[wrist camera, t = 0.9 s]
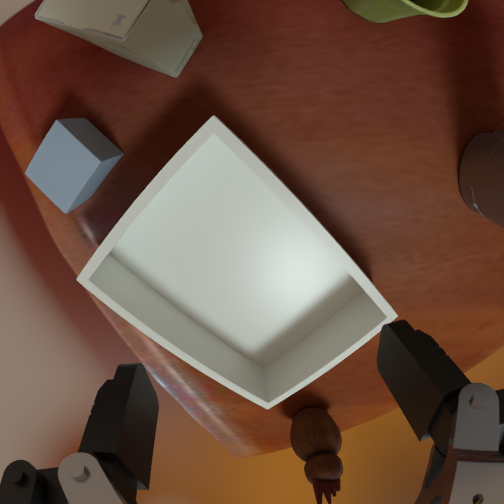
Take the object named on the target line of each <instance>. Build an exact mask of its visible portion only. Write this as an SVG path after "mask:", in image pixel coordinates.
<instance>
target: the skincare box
mask: <svg viewBox="0 0 504 504" xmlns="http://www.w3.org/2000/svg"><path fill="white" fill-rule="evenodd" d="M35 18H36V19H37V20H40V21H42V22H45V23H47V24H50V25H52V26H55V27H57V28H60V29H62V30H64V31H67V32H69V33H71V34H74V35H76V36H78V37H80V38H83V39H85V40H87V41H89V42H91V43H93V44H96V45H98V46H100V47H102V48H104V49H106V50H108V51H110V52H112V53H114V54H116V55H118V56H120V57H123V58H125V59H128V60H130V61H133V62H135V63H138V64H140V65H143V66H146V67H148V68H151V69H153V70H156V71H159V72H161V73H164V74H166V75H169V76H172V77H174V78H177V77H178V76H179V74H180V73H181V71H182V69H183V68H184V66H185V65H186V63H187V61H188V60H189V58H190V57H191V55H192V54H193V52H194V50H195V49H196V47H197V45H198V44H199V42H200V40H201V39H202V37H203V36H202V33H201V31H200V28H199V26H198V23H197V21H196V19H195V16H194V14H193V12H192V9H191V7H190V5H189V2H188V0H43V2H42V4H41V5H40V7H39V9H38V10H37V12H36V14H35Z"/></svg>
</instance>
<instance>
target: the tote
mask: <svg viewBox="0 0 504 504" xmlns="http://www.w3.org/2000/svg"><path fill="white" fill-rule="evenodd" d="M76 280H77V281H78V282H79V283H81V284H82V285H83V286H84V287H85V288H86V289H88V290H89V291H90V292H91V293H92V294H94V295H95V296H96V297H97V298H99V299H100V300H101V301H102V302H104V303H105V304H106V305H107V306H109V307H110V308H111V309H112V310H114V311H115V312H116V313H118V314H119V315H120V316H121V317H123V318H124V319H125V320H127V321H128V322H129V323H131V324H132V325H133V326H135V327H136V328H137V329H139V330H140V331H142V332H143V333H144V334H146V335H147V336H149V337H150V338H151V339H153V340H154V341H156V342H157V343H159V344H160V345H161V346H163V347H164V348H166V349H167V350H169V351H170V352H172V353H173V354H175V355H176V356H178V357H179V358H181V359H182V360H184V361H185V362H187V363H188V364H190V365H192V366H193V367H195V368H196V369H198V370H199V371H201V372H203V373H204V374H206V375H208V376H209V377H211V378H212V379H214V380H216V381H217V382H219V383H221V384H222V385H224V386H226V387H228V388H229V389H231V390H233V391H235V392H236V393H238V394H240V395H242V396H243V397H245V398H247V399H249V400H251V401H253V402H254V403H256V404H258V405H260V406H262V407H264V408H266V409H269V408H271V407H273V406H274V405H276V404H278V403H279V402H281V401H283V400H284V399H286V398H287V397H289V396H291V395H292V394H294V393H295V392H297V391H298V390H300V389H301V388H303V387H304V386H306V385H308V384H309V383H311V382H312V381H313V380H315V379H316V378H318V377H319V376H321V375H322V374H324V373H325V372H327V371H328V370H329V369H331V368H332V367H334V366H335V365H336V364H338V363H339V362H341V361H342V360H343V359H345V358H346V357H347V356H349V355H350V354H351V353H353V352H354V351H355V350H357V349H358V348H359V347H361V346H362V345H363V344H365V343H366V342H367V341H368V340H370V339H371V338H372V337H373V336H375V335H376V334H377V333H378V332H380V331H381V329H382V326H383V325H384V324H388V323H391V322H392V321H393V320H394V319H395V318H396V317H398V315H397V314H396V313H395V311H394V310H393V309H392V307H391V306H390V305H389V303H388V302H387V301H386V299H385V298H384V297H383V295H382V294H381V293H380V292H379V290H378V289H377V288H376V286H375V285H374V284H373V283H372V281H371V280H370V279H369V278H368V277H367V275H366V274H365V273H364V272H363V271H362V269H361V268H360V267H359V266H358V265H357V263H356V262H355V261H354V260H353V259H352V258H351V256H350V255H349V254H348V253H347V252H346V251H345V249H344V248H343V247H342V246H341V245H340V244H339V243H338V241H337V240H336V239H335V238H334V237H333V236H332V235H331V233H330V232H329V231H328V230H327V229H326V228H325V227H324V226H323V225H322V223H321V222H320V221H319V220H318V219H317V218H316V217H315V216H314V215H313V214H312V212H311V211H310V210H309V209H308V208H307V207H306V206H305V205H304V204H303V203H302V202H301V200H300V199H299V198H298V197H297V196H296V195H295V194H294V193H293V192H292V191H291V190H290V189H289V188H288V187H287V186H286V185H285V184H284V182H283V181H282V180H281V179H280V178H279V177H278V176H277V175H276V174H275V173H274V172H273V171H272V170H271V169H270V168H269V167H268V166H267V165H266V164H265V163H264V162H263V161H262V160H261V159H260V158H259V157H258V156H257V155H256V154H255V153H254V152H253V151H252V150H251V149H250V148H249V147H248V146H247V145H246V144H245V143H244V142H243V141H242V140H241V139H240V138H239V137H238V136H237V135H236V134H235V133H234V132H233V131H232V130H231V129H230V128H228V127H227V126H226V125H225V124H224V123H223V122H222V121H221V120H220V119H219V118H218V117H216V116H214V115H213V116H212V117H211V118H210V119H209V120H208V121H207V122H206V123H205V124H204V125H203V126H202V127H201V128H200V129H199V130H198V131H197V132H196V133H195V134H194V135H193V136H192V137H191V138H190V139H189V140H188V141H187V142H186V144H185V145H184V146H183V147H182V148H181V149H180V150H179V151H178V152H177V153H176V154H175V155H174V156H173V157H172V159H171V160H170V161H169V162H168V163H167V164H166V165H165V166H164V167H163V169H162V170H161V171H160V172H159V173H158V174H157V175H156V176H155V178H154V179H153V180H152V181H151V182H150V183H149V185H148V186H147V187H146V188H145V189H144V190H143V192H142V193H141V194H140V195H139V196H138V198H137V199H136V200H135V201H134V203H133V204H132V205H131V206H130V207H129V209H128V210H127V211H126V212H125V214H124V215H123V216H122V217H121V219H120V220H119V221H118V223H117V224H116V225H115V226H114V228H113V229H112V230H111V232H110V233H109V234H108V236H107V237H106V238H105V240H104V241H103V242H102V244H101V245H100V246H99V248H98V249H97V251H96V252H95V253H94V255H93V256H92V258H91V259H90V260H89V262H88V263H87V265H86V266H85V267H84V269H83V270H82V272H81V273H80V275H79V276H78V278H77V279H76Z"/></svg>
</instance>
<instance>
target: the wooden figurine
mask: <svg viewBox="0 0 504 504" xmlns="http://www.w3.org/2000/svg"><path fill="white" fill-rule="evenodd" d="M290 439H291V444H292V447H293V450H294V452H295V453H296V455H297V456H298V457H299V458H301V459H302V460H303V461H305V462H306V464H305V467H304V470H305V475H306V477H307V479H308V481H309V482H310V483H311V484H313V488H314V492H315V497H316V500H317V504H322V495H323V493H324V495H325V497H326V499H327V501H328V504H331V493H332V495H333V496H336V491H340V477H341V475H342V473H343V466H342V462H341V459H340V458H339V457H338V456H337V454H338V453H339V451H340V449H341V444H342V438H341V433H340V430H339V428H338V426H337V425H336V423H335V422H334V420H333V419H332V418H331V416H330V415H329V414H328V413H327V412H326V411H325V410H323V409H320V408H315V407H312V408H306V409H303V410H301V411H299V412H298V413H297V414H296V416H295V417H294V419H293V421H292V426H291V434H290Z"/></svg>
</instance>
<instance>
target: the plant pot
mask: <svg viewBox="0 0 504 504" xmlns="http://www.w3.org/2000/svg"><path fill="white" fill-rule="evenodd" d="M342 1H343V2H344V4H345V5H346V6H347V7H348V8H349V9H350V10H351V11H352V12H354V13H356V14H358V15H360V16H362V17H363V18H365V19H366V20H368V21H372V22H378V23H383V22H388V21H392V20H396V19H400V18H404V17H409V16H414V15H419V14H423V15H430V16H434V17H440V18H447V17H453V16H456V15H458V14H460V13H461V12H462V11H463V10H464V9H465V8H466V6H467V3H468V0H342Z"/></svg>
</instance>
